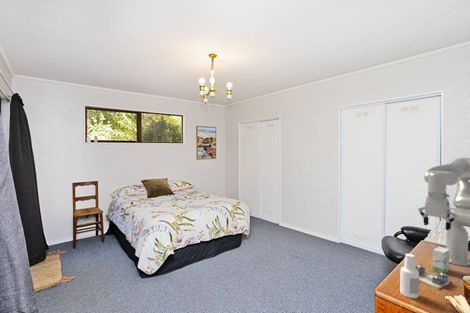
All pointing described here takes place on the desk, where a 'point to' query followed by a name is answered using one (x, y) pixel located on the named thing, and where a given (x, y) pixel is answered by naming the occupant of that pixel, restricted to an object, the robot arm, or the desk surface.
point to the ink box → (441, 260)
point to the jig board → (430, 280)
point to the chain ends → (437, 279)
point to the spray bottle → (409, 278)
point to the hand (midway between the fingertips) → (436, 227)
